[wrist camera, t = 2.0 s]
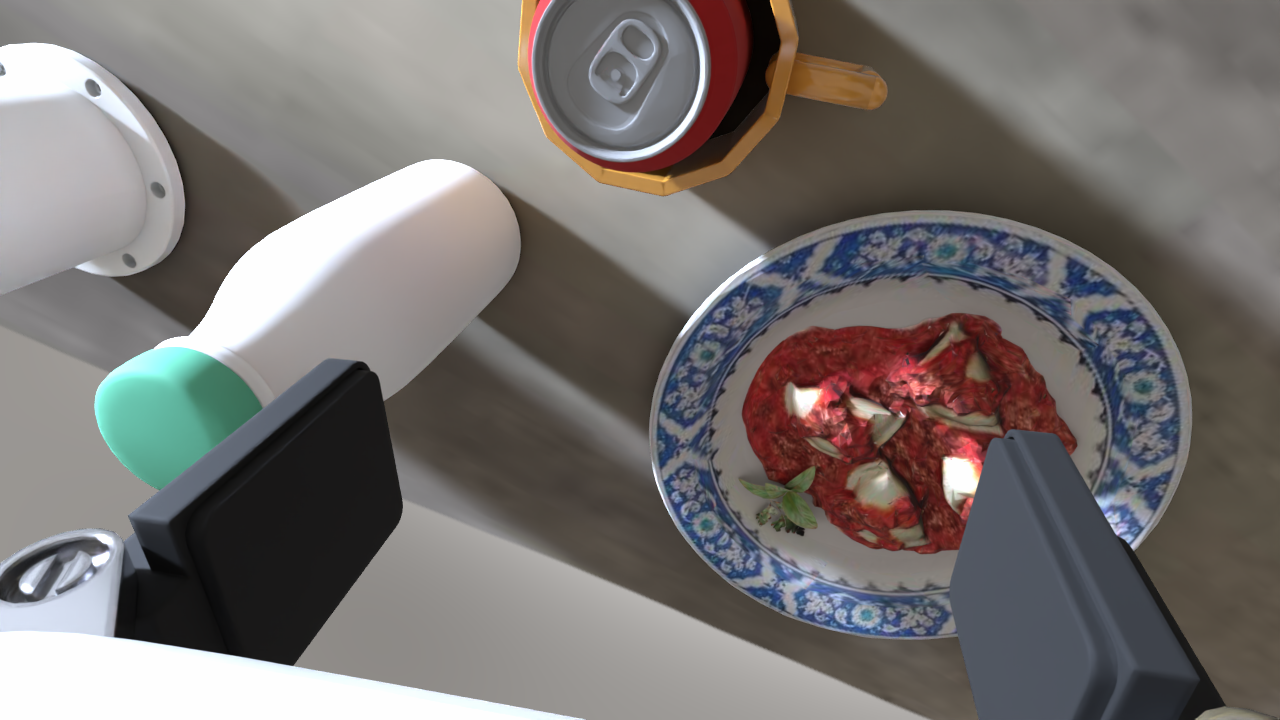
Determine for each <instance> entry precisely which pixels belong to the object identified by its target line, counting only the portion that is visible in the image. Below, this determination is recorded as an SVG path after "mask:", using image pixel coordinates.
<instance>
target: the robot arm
mask: <svg viewBox="0 0 1280 720" xmlns="http://www.w3.org/2000/svg"><path fill="white" fill-rule="evenodd" d="M184 215H185V198H184V190H183V183H182V179H181V176H180V172H179V169H178V165H177V162H176V159H175V157H174V155H173V153H172V150H171V148H170V146H169V144H168V141H167V139H166V138H165V136H164V134H163V133H162V131H161V129H160V128H159V126H158V125H157V123H156V121H155V120H154V118H153V117H152V115H151V114H150V113H149V112H148V110H147V109H146V108H145V107H144V105H143V104H142V103H141V102H140V100H139V99H138V98H137V97H136V96H135V95H134V94H133V93H132V92H131V91H130V90H129V89H128V88H127V87H126V86H125V85H124V84H123V83H122V82H121V81H120V80H119V79H118V78H117V77H115V76H114V75H112V74H111V73H110V72H108V71H107V70H106V69H104V68H103V67H102V66H100V65H99V64H97V63H96V62H94V61H92V60H90V59H88V58H86V57H84V56H83V55H81V54H79V53H77V52H75V51H72V50H69V49H65V48H62V47H59V46H56V45H51V44H41V43H27V44H14V45H7V46H4V47H1V48H0V296H1V295H4V294H6V293H9V292H11V291H14V290H16V289H19V288H21V287H24V286H27V285H29V284H32V283H34V282H37V281H39V280H42V279H45V278H47V277H50V276H52V275H55V274H57V273H60V272H62V271H65V270H68V269H70V268H73V267H74V268H77V269H80V270H83V271H86V272H89V273H92V274H96V275H103V276H110V277H116V276H129V275H132V274H135V273H138V272H141V271H144V270H146V269H148V268H150V267H152V266H154V265H156V264H158V263H160V262H161V261H162V260H163V259H165V258H166V257H167V256H168V255H169V254H170V253H171V252H172V250H173V249H174V247H175V245H176V244H177V242H178V240H179V238H180V235H181V231H182V228H183V225H184ZM402 509H403V502H402V496H401V491H400V486H399V480H398V475H397V470H396V465H395V459H394V454H393V449H392V443H391V438H390V433H389V428H388V422H387V417H386V412H385V406H384V401H383V396H382V391H381V385H380V381H379V377H378V375H377V374H376V373H375V372H373V371H370V368H369V367H368V365H367V364H366V363H364V362H363V361H353V360H344V359H334V358H328V359H326V360H324V361H322V362H321V363H320V364H319V365H317V366H316V367H315V368H314V369H312V370H311V371H310V372H309V373H307V374H306V375H305V376H304V377H302V378H301V379H300V380H299V381H297V382H296V383H295V384H293V385H292V386H291V387H290V388H288V389H287V390H286V391H285V392H283V393H282V394H281V395H280V396H278V397H277V398H276V399H275V400H273V401H272V402H271V403H269V404H268V405H267V406H266V407H264V408H263V409H262V410H261V411H259V412H258V413H257V414H256V415H254V416H253V417H252V418H251V419H249V420H248V421H247V422H246V423H244V424H243V425H242V426H240V427H239V428H238V429H237V430H235V431H234V432H233V433H232V434H230V435H229V436H228V437H227V438H225V439H224V440H223V441H222V442H220V443H219V444H218V445H217V446H215V447H214V448H213V449H211V450H210V451H209V452H208V453H206V454H205V455H204V456H203V457H201V458H200V459H199V460H198V461H196V462H195V463H194V464H193V465H191V466H190V467H189V468H188V469H186V470H185V471H184V472H182V473H181V474H180V475H179V476H177V477H176V478H175V479H174V480H172V481H171V482H170V483H169V484H167V485H166V486H165V487H164V488H162V489H161V490H160V491H159V492H157V493H156V494H155V495H154V496H152V497H151V498H150V499H148V500H147V501H146V502H145V503H143V504H142V505H141V506H140V507H138V508H137V509H136V510H135V511H133V512H132V513H131V514H130V515H128V517H129V519H130V522H131V524H132V527H133V529H134V531H135V533H134V534H132V535H131V536H130V537H129V538H127V539H126V540H125V541H124V542H123V540H122V538H121V537H119V536H118V535H117V534H116V533H115V532H113V531H109V530H105V529H100V528H99V529H97V528H96V529H79V530H74V531H69V532H63V533H60V534H57V535H54V536H51V537H48V538H45V539H42V540H40V541H38V542H36V543H34V544H32V545H29V546H28V547H25V548H23V549H21V550H19V551H18V552H16V553H15V554H13V555H12V556H10V557H9V558H7V559H6V560H4V561H3V562H1V563H0V720H585V719H580V718H574V717H569V716H564V715H558V714H553V713H547V712H542V711H536V710H532V709H526V708H521V707H515V706H510V705H504V704H499V703H494V702H488V701H483V700H477V699H472V698H466V697H460V696H455V695H450V694H444V693H439V692H434V691H428V690H423V689H417V688H412V687H406V686H401V685H395V684H390V683H384V682H378V681H373V680H367V679H362V678H356V677H350V676H345V675H339V674H333V673H328V672H323V671H317V670H311V669H305V668H300V667H294V666H293V665H294V664H295V663H296V661H297V660H298V659H299V657H300V656H301V655H302V653H303V652H304V651H305V649H306V648H307V646H308V645H309V644H310V643H311V641H312V640H313V638H314V637H315V636H316V634H317V633H318V632H319V630H320V629H321V628H322V626H323V625H324V624H325V622H326V621H327V619H328V618H329V617H330V615H331V614H332V613H333V611H334V610H335V609H336V607H337V606H338V605H339V603H340V602H341V601H342V599H343V598H344V597H345V595H346V594H347V593H348V591H349V590H350V588H351V587H352V586H353V584H354V583H355V582H356V580H357V579H358V578H359V576H360V575H361V574H362V572H363V571H364V569H365V568H366V567H367V565H368V564H369V563H370V561H371V560H372V559H373V557H374V556H375V555H376V553H377V552H378V551H379V549H380V548H381V547H382V545H383V544H384V542H385V541H386V540H387V538H388V537H389V536H390V534H391V533H392V532H393V530H394V529H395V528H396V526H397V525H398V523H399V521H400V518H401V515H402ZM949 597H950V605H951V609H952V613H953V617H954V621H955V625H956V629H957V633H958V637H959V642H960V646H961V650H962V654H963V658H964V662H965V666H966V670H967V674H968V678H969V682H970V686H971V690H972V694H973V698H974V702H975V706H976V710H977V714H978V718H979V720H1280V719H1278V718H1276V717H1273V716H1270V715H1267V714H1263V713H1260V712H1257V711H1254V710H1250V709H1244V708H1234V707H1226V705H1225V703H1224V702H1223V700H1222V698H1221V697H1220V695H1219V693H1218V692H1217V690H1216V688H1215V687H1214V685H1213V683H1212V682H1211V680H1210V678H1209V677H1208V675H1207V673H1206V672H1205V670H1204V668H1203V667H1202V665H1201V663H1200V661H1199V660H1198V658H1197V656H1196V655H1195V653H1194V651H1193V650H1192V648H1191V646H1190V645H1189V643H1188V641H1187V640H1186V638H1185V636H1184V635H1183V633H1182V631H1181V630H1180V628H1179V626H1178V625H1177V623H1176V621H1175V620H1174V618H1173V616H1172V615H1171V613H1170V611H1169V610H1168V608H1167V606H1166V605H1165V603H1164V601H1163V599H1162V598H1161V596H1160V594H1159V593H1158V591H1157V589H1156V588H1155V586H1154V584H1153V583H1152V581H1151V579H1150V578H1149V576H1148V574H1147V573H1146V571H1145V569H1144V568H1143V566H1142V564H1141V563H1140V561H1139V559H1138V558H1137V556H1136V554H1135V553H1134V551H1133V549H1132V548H1131V547H1130V545H1129V544H1128V543H1127V542H1126V540H1125V539H1123V538H1121V537H1119V536H1116V534H1115V532H1114V530H1113V529H1112V527H1111V525H1110V524H1109V522H1108V520H1107V518H1106V517H1105V515H1104V513H1103V512H1102V510H1101V508H1100V506H1099V505H1098V503H1097V501H1096V500H1095V498H1094V496H1093V494H1092V493H1091V491H1090V489H1089V488H1088V486H1087V484H1086V482H1085V481H1084V479H1083V477H1082V476H1081V474H1080V472H1079V470H1078V469H1077V467H1076V465H1075V463H1074V462H1073V460H1072V458H1071V457H1070V455H1069V453H1068V451H1067V450H1066V448H1065V446H1064V445H1063V443H1062V441H1061V439H1060V438H1059V437H1058V436H1057V435H1056V434H1053V433H1045V432H1035V431H1025V430H1016V429H1011V430H1009V431H1008V432H1007V433H1006V435H1005V436H1004V438H993V439H992V440H991V442H990V444H989V447H988V450H987V453H986V457H985V460H984V464H983V467H982V471H981V474H980V478H979V481H978V485H977V488H976V492H975V495H974V499H973V503H972V506H971V510H970V513H969V517H968V520H967V524H966V527H965V531H964V534H963V538H962V541H961V545H960V548H959V552H958V555H957V559H956V562H955V566H954V569H953V573H952V576H951V580H950V588H949Z"/></svg>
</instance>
